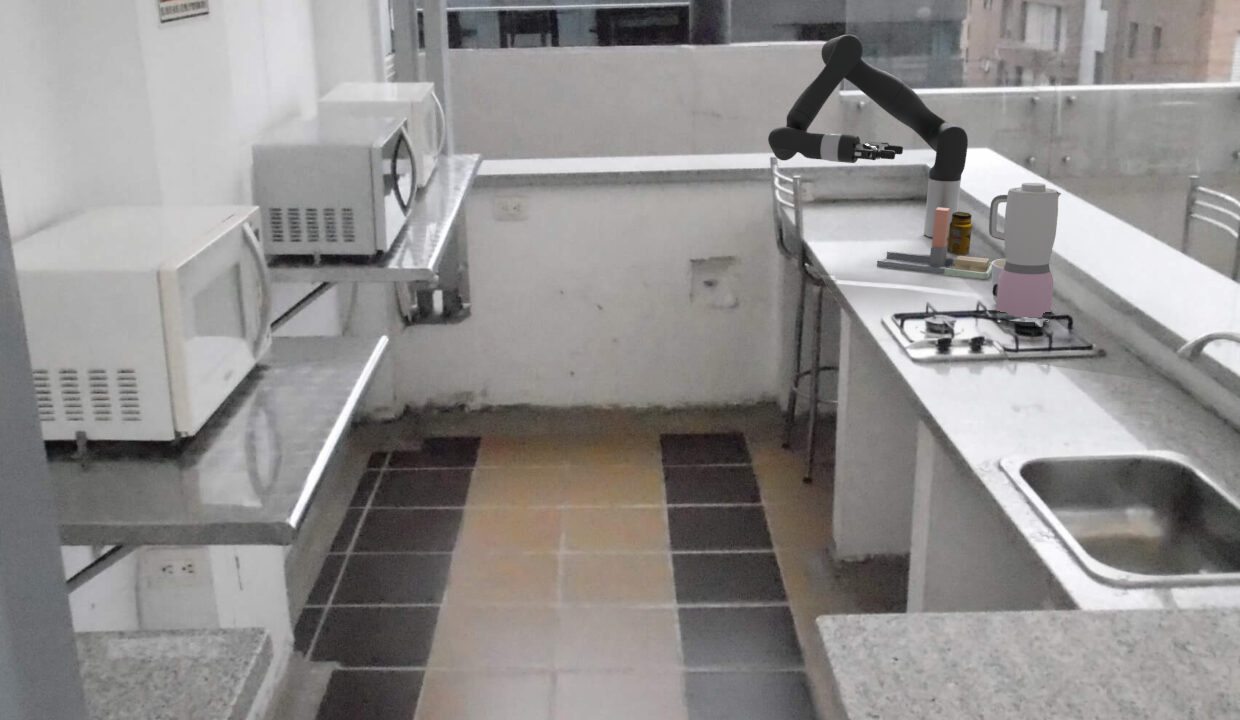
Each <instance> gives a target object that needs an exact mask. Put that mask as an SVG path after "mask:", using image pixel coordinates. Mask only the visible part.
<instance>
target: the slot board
mask: <svg viewBox="0 0 1240 720" xmlns="http://www.w3.org/2000/svg"><path fill="white" fill-rule="evenodd" d="M954 258H955V257H947V256H946V264H945V266H944V267H939V266H930V265H929V263H930V254H929V255H928V254H921V253H920V254H919V253H912V252H911V253H910V252H903V251H896V250H894V251H893V250H887V251H886V257H885V258H884V259H877V261H876V267H879V268H880V267H881V268H889V269H895V270H896V269H897V270H904V271H914V272H921V273H930V274H940V275H945V274H944V271H945V268H950V269H951V267H952V266H953V259H954Z"/></svg>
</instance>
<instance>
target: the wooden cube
mask: <svg viewBox="0 0 1240 720" xmlns="http://www.w3.org/2000/svg"><path fill="white" fill-rule="evenodd" d="M974 257H975V256H965V255H957V257H956V260H955V265H954V269H959V270H967V271H970V266H971V260H972V259H973V258H974Z"/></svg>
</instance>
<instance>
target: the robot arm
mask: <svg viewBox="0 0 1240 720" xmlns="http://www.w3.org/2000/svg"><path fill="white" fill-rule="evenodd" d="M863 51H864V47H863V43H862V41H861V39H860V38H859V37H858V36H856V35H854V34H843V35H839V36H837V37H834V38H831V39H829V40H827V41H826V42H825V43H824V44H823V45H822V48H821V54H820V55H821V59H822V61H823V63H824V68H823V69H822V70H821V72H820V73H819V74H818V75H817V77H816V78H815V79H814V80H813V81H812V82H811V83H810V84H809V85H808V86H807V87H806V88H805V89H804V91H803V92H802V93H801V94H800V95H799V97H798V98H797V99H796V101H795V102H794V104H793V105H792V107H791V109H790V110H789V111H788V113H787V115H786V125H785V126H779V127H776V128H774V129H772V130H771V131H770V133H769V134H768V139H767V141H768V144H769V147H770V149H771V151H772V153H773V154H774V157H776V158H777V159H778V160H780V161H789V160H790V159H792V158H794V157H795V156H796V155H797V154H798V153H799V154H801V155H802V156H803V157H804V158H806V159H810V160H822V161H823V160H824V161H828V162H834V163H835V162H836V163H848V164H849V163H850V164H855V163H856V162H857V161H858V159H860V160H871V161H875V160H880V159H883V160H884V159H885V160H895V158H896V155H902V154H903V153H904V146H902V145H891V144H890V143H888V142H879V141H878V142H877V141H876V142H875V141H865V142H864V143H861V139H860V137H859V135H855V134H842V133H816V132H815V133H813V132H808V129H809V127H810V126H811V125H812V123H813V122H814V120H815V119H816V117H817V115H818V114H819V113H820V111H821V110H822V108H823V106H824V104H826V102H827V101H828V99H829V97H830V96H831V95H832V94H833V92H834V91H835V90H836V88H837V87H838V86H839V85H840V83H841V82H842V81H843V80H844V79H845V80H846V81H847V82H849V83H851V84H852V85H854V86H855V87H856V88H857V89H859V90H860V91H861V92H862V93H863V94H864V95H866V96H867V97H868V98H870V99H871V100H872V101H873V102H874V103H876V105H878V106H879V107H880V108H882V110H884V111H886V113H888V114H889V115H890V116H892V117H893V118H894V119H896V121H897V120H898V121H899V122H901V124H904V126H905V125H906V126H907V127H908V128H910V129H911V130H913V131H914V133H916V134H918V136H920V137H921V138H922V140H923V141H924V142H925V143H926V144H927V145H928V146H929V148H931V149H932V150H933V151H934V152H935V158H934V159H935V161H934V164H933V166H932V167H931V168H930V169H929V173H928V185H927V193H926V195H927V197H926V206H925V215H924V227H923V235H924V236H925V235H926V237H929V238H933V230H934V219H935V209H937V208H938V207H941V208H950V216H949V226H948V236H949V227H950V223H951V221H952V220H951V219H952V214H953V213H955V212H959V201H960V192H961V181H962V174H963V172H964V170H965V167H966V160H967V154H968V153H967V152H968V144H969V142H968V141H969V140H968V139H969V137H968V134H967V132H966V131H965V128H962V127H961V126H959V125H956V124H954V123H950V122H949V121H948V120H945V119H944V118H942V117H940V116H939V115H937V114H936V113H935V112H933V111H932V110H930V109H929V107H927V106H926V104H925V103H924V102H923V100H922V99H921V97H920V96H919V95H918V94H917V93H916V92H915V91H914V90H913V89H912V88H911V87H910V86H908V85H907V84H906V83H905V82H903V80H901V79H900V78H898V77H897V76H895V75H893V74H891V73H889V72H887V71H884V70H882V69H880V68H877V67H876V66H873V65H871V64H869V63H868V62H867V61H865V60H864V59H863V58H862V57H863ZM882 148H883V149H882ZM948 236H947V239H948Z"/></svg>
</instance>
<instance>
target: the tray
mask: <svg viewBox="0 0 1240 720" xmlns="http://www.w3.org/2000/svg"><path fill="white" fill-rule="evenodd" d="M953 258H954V259H953V265H954V266H955V260H956V258H957V257H956V258H955V257H953ZM992 262H993V261H989V266H988V269H987V271H986V272H985V273H984V272H976V271H967V270H959V269H955V268H951V267H950V268H945V271H944V274H943V275H946V276H953V277H954V276H955V277H956V276H957V277H963V278H972V279H980V280H988V278H989V277H990V276H992ZM953 265H952V266H953Z"/></svg>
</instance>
